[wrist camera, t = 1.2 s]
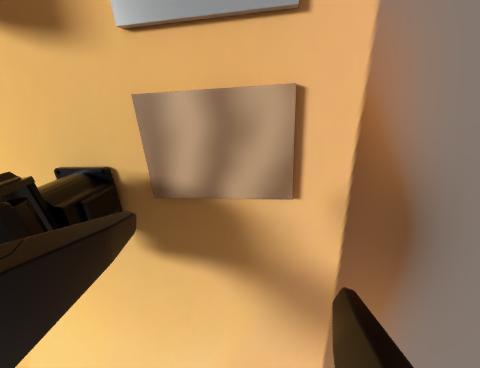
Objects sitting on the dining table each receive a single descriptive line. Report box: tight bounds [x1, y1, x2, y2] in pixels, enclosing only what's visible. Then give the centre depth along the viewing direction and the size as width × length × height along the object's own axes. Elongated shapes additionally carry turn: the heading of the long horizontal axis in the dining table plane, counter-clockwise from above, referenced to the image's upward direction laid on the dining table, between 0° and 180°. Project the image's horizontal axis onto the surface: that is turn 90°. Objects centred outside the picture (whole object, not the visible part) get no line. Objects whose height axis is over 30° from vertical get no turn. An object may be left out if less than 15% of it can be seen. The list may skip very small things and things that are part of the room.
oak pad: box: [131, 83, 296, 199], centre depth 20 cm, size 14×10×1 cm
